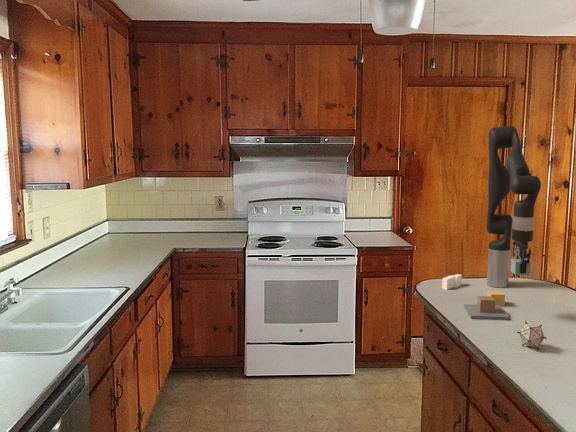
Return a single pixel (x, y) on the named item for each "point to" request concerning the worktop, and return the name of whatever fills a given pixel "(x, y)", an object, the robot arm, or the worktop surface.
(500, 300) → the ochre block
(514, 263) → the teal block
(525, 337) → the game die
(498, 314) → the baseplate
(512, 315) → the worktop surface
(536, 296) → the worktop surface
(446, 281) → the notched block
